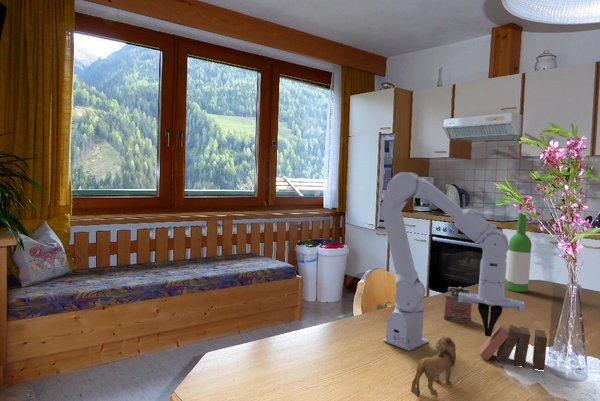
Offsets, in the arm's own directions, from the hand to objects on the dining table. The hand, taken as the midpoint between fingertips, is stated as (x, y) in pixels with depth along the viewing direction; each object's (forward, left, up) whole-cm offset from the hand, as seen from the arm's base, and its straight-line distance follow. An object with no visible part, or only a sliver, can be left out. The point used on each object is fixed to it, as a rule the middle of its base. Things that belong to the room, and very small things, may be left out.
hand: (487, 335), depth 106 cm
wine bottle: (+72, +20, -6) cm, 74 cm away
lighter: (+20, +18, -6) cm, 27 cm away
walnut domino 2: (+3, -7, -5) cm, 9 cm away
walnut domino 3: (+4, -10, -5) cm, 12 cm away
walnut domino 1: (+1, -3, -5) cm, 6 cm away
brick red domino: (0, +1, -5) cm, 5 cm away
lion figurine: (-23, +1, -6) cm, 24 cm away
